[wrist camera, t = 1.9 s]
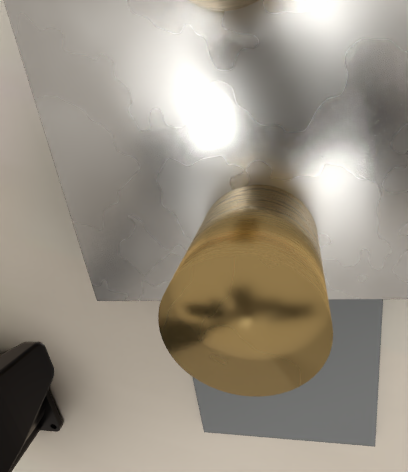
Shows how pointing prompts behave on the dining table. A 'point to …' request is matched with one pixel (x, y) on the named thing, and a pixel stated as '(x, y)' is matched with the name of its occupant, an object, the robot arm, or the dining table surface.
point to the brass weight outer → (223, 4)
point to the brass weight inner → (250, 296)
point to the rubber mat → (314, 389)
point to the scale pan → (224, 128)
